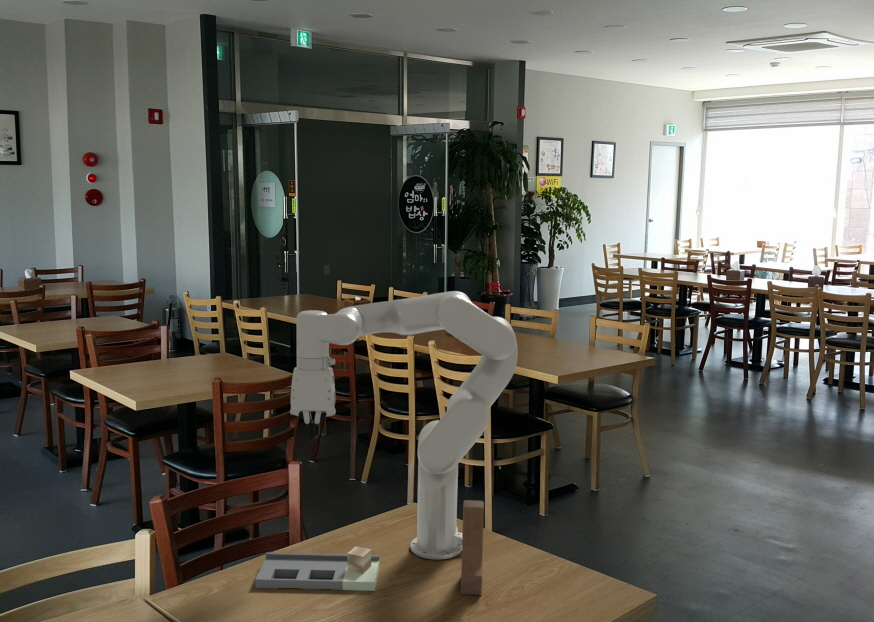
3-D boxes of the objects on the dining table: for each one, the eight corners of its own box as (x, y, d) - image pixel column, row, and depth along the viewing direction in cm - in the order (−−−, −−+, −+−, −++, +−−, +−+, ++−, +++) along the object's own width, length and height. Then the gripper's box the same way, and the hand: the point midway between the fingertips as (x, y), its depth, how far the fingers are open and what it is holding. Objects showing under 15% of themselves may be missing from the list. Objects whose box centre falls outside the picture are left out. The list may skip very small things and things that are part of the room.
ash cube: (371, 566, 180) (371, 549, 179) (363, 573, 176) (363, 556, 176) (355, 562, 181) (355, 546, 181) (347, 570, 178) (347, 553, 177)
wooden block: (481, 595, 171) (483, 516, 169) (460, 595, 172) (462, 515, 169) (481, 576, 180) (483, 500, 178) (461, 575, 181) (463, 499, 178)
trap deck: (379, 567, 184) (379, 555, 183) (374, 590, 173) (375, 577, 172) (266, 564, 184) (266, 552, 183) (255, 587, 173) (255, 574, 173)
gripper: (346, 360, 191) (346, 434, 194) (284, 359, 191) (284, 433, 194) (342, 367, 184) (342, 444, 186) (277, 365, 184) (278, 442, 186)
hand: (312, 438), depth 190 cm, fingers closed
